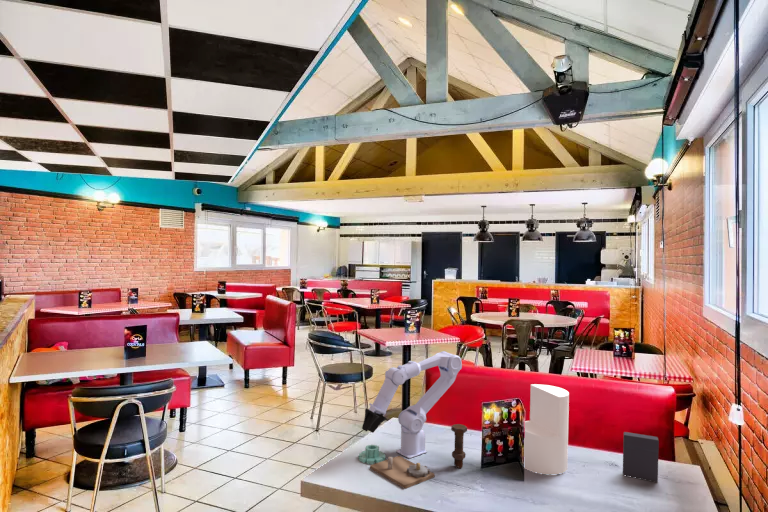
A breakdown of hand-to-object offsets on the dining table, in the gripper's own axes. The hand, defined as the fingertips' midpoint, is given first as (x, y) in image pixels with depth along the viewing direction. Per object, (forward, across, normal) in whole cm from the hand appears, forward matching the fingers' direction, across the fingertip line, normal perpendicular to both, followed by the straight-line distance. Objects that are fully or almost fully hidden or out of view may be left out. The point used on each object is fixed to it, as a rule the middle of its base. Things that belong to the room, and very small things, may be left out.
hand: (367, 430), depth 182 cm
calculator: (-32, -25, +90) cm, 99 cm away
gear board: (+6, 0, +18) cm, 19 cm away
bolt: (-4, -11, +34) cm, 36 cm away
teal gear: (+8, -7, +4) cm, 12 cm away
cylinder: (-20, -24, +60) cm, 67 cm away
